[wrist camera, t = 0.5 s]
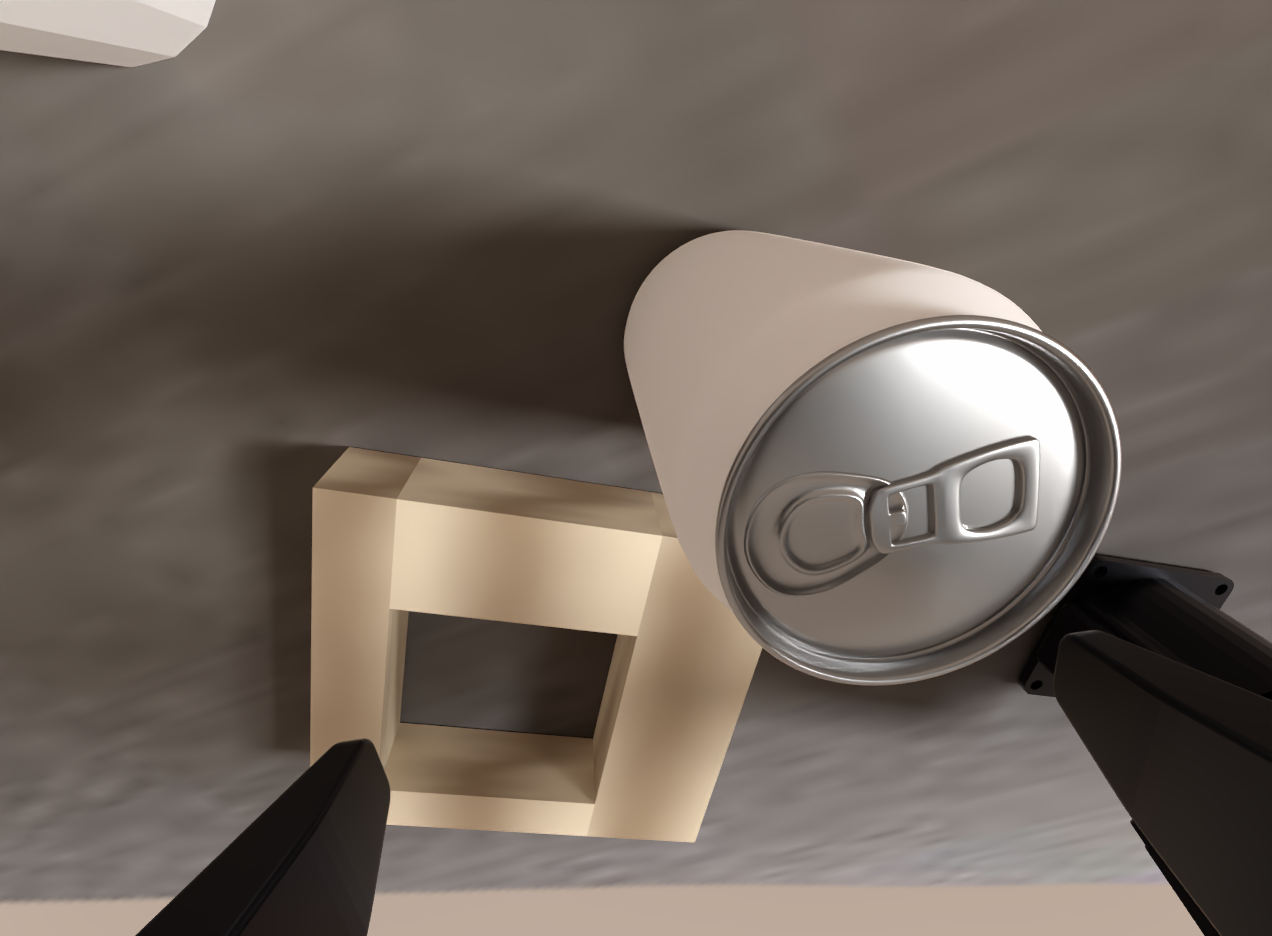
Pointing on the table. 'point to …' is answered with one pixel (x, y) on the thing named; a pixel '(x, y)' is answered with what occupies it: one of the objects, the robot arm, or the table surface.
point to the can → (867, 452)
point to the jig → (529, 594)
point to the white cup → (103, 28)
